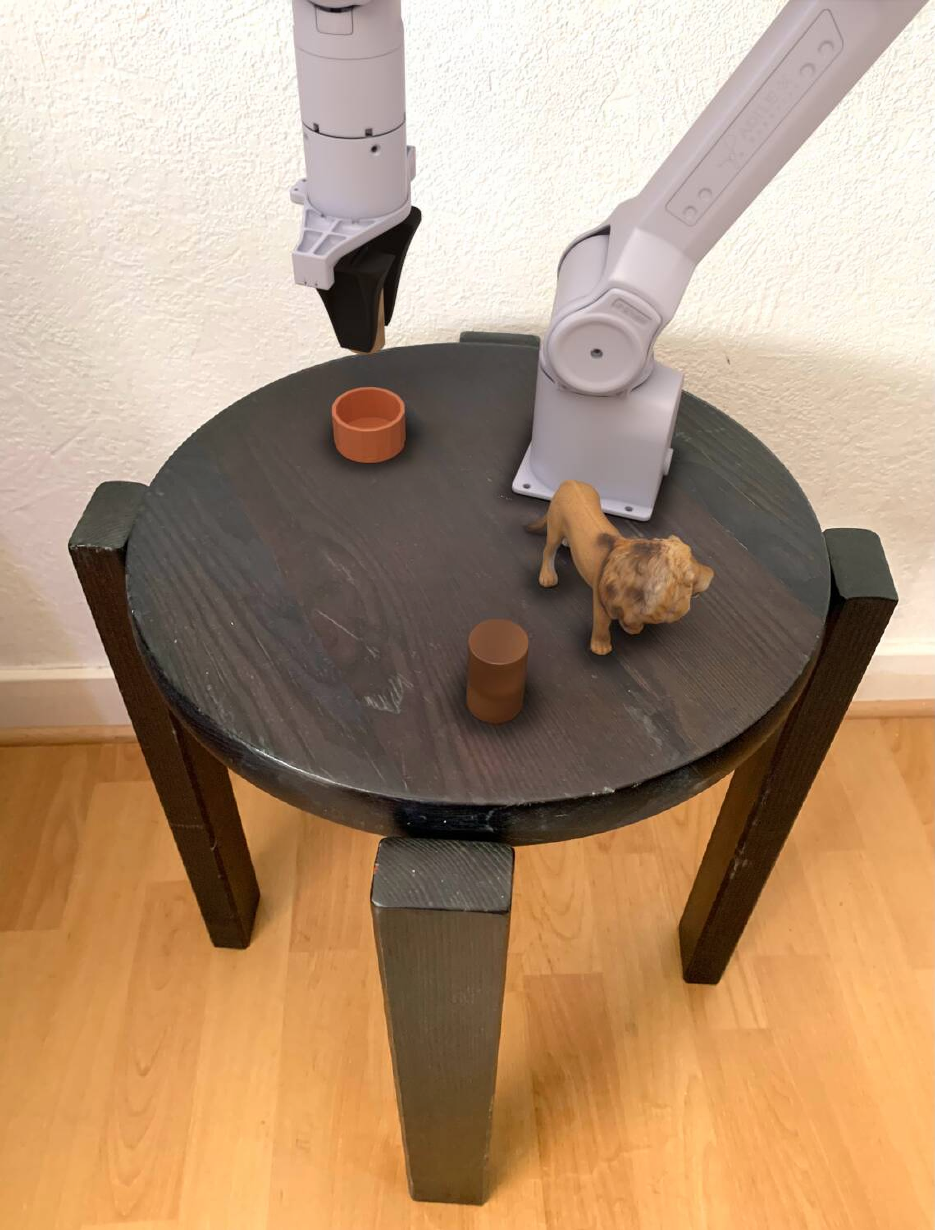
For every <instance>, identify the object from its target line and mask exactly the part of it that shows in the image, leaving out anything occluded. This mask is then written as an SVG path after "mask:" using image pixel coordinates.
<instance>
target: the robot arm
mask: <svg viewBox="0 0 935 1230" xmlns="http://www.w3.org/2000/svg"><path fill="white" fill-rule="evenodd" d="M929 2H930V0H788V1H787V3H786V4H784V6H783V7H782V8H781V10H780V11H779V13H777V15H776V16H775V18H774V19H773V20H772V22H771V23H770V24H769V25H768V27H767V28H766V29H765V31H764V32H762V34H761V36H760V37H759V38H758V39H757V41H756V42H755V44H754V45H753V46H752V47H751V49H750V50H749V51H748V53H747V54H746V55H745V57H743V59H742V60H741V61H740V63H739V64H738V65H737V67H736V68H735V69H734V70H733V72H732V73H731V75H730V76H729V77H728V78H727V80H726V81H725V82H724V83H723V85H722V86H721V87H720V89H719V90H718V91H717V93H716V94H715V95H714V96H713V98H712V99H711V100H710V101H709V103H707V105H706V106H705V108H704V109H703V110H702V111H701V113H700V115H698V116H697V118H696V120H694V122H693V123H692V125H691V126H690V127H689V129H688V130H687V131H686V132H685V133H684V134H683V136H682V138H681V139H680V140H679V141H678V143H677V144H676V145H675V146H674V148H673V149H672V150H671V152H670V153H669V154H668V156H667V157H666V158H665V160H664V161H663V162H662V163H661V164H660V166H659V167H658V168H657V170H656V171H655V172H654V174H653V175H652V176H651V178H650V179H649V180H648V181H647V182H646V184H645V185H644V186H643V188H642V189H641V190H640V192H639V193H638V194H637V195H636V196H634V197H631V198H628V199H626V200H624V201H621V202H619V203H618V204H617V205H616V207H615V208H614V209H613V211H612V212H611V213H610V215H608V217H607V218H606V219H605V220H604V221H602V222H601V223H600V224H598V225H597V226H595V227H593V228H591V229H589V230H587V231H584V232H582V233H580V234H579V235H578V236H576V237H575V238H574V239H572V240H571V241H570V242H569V243H568V244H567V246H566V247H565V248H564V250H563V252H562V253H561V256H560V258H559V261H558V264H557V272H556V273H557V274H556V279H557V280H556V289H555V294H554V300H553V304H552V310H551V313H550V320H549V324H548V326H547V328H546V331H545V334H544V335H543V340H542V341H541V343H540V346H539V352H538V362H537V375H536V376H537V377H536V387H535V397H534V398H535V399H534V409H533V410H534V411H533V421H532V432H531V433H532V434H531V441H530V443H529V445H528V447H527V450H526V452H525V454H524V456H523V459H522V461H521V464H520V466H519V468H518V470H517V473H516V475H515V477H514V479H513V481H512V484H511V485H512V486H511V489H512V491H513V492H514V493H516V494H519V495H524V496H528V497H532V498H537V499H542V500H546V501H550V502H551V500H552V497H553V495H554V494H555V492H556V491H557V490H558V488H559V486H560V485H561V483H562V482H563V481H565V480H569V479H572V480H575V481H577V482H585V483H587V484H589V485H590V486H592V487H593V488H594V489H595V490H596V491H597V492H598V494H599V497H600V503H601V508H602V511H603V513H604V514H609V515H614V516H617V517H621V518H622V517H623V518H626V519H630V520H631V519H632V520H634V521H635V520H636V521H641V522H647V521H649V520H650V519H651V517H652V514H653V512H654V507H655V505H656V504H655V503H656V500H657V497H658V493H659V490H660V487H661V484H662V480H663V476H668V474H669V471H670V466H671V464H672V463H671V462H672V458H673V454H674V449H673V448H671V445H672V439H673V435H674V431H675V426H676V420H677V416H678V412H679V408H680V403H681V398H682V397H681V396H682V392H683V388H684V383H685V382H684V381H685V376H686V373H685V372H683V371H681V370H678V369H676V368H672V367H670V366H669V365H666V364H663V363H661V362H660V361H659V360H658V359H656V358H655V351H654V347H655V344H656V342H657V340H658V338H659V336H660V335H661V333H662V332H663V331H664V330H665V328H666V327H668V325H669V324H670V323H671V322H672V321H673V319H674V317H675V315H676V313H677V311H678V309H679V306H680V304H681V302H682V300H683V297H684V296H685V293H686V291H687V288H688V286H689V283H690V281H691V279H692V277H693V275H694V273H695V270H696V268H697V267H698V265H699V264H701V262H702V261H703V259H704V258H705V257H706V256H707V255H708V254H709V252H710V251H711V250H712V249H713V248H714V247H715V246H716V245H717V244H718V242H719V241H720V240H721V239H722V238H723V237H724V236H725V234H726V233H727V232H728V231H729V230H730V228H731V227H732V226H734V224H735V223H736V222H737V220H738V219H739V218H740V217H741V216H742V215H743V214H744V213H745V211H747V209H749V207H750V206H751V204H753V202H754V201H755V200H756V199H757V198H758V197H759V196H760V194H761V193H762V192H763V191H764V190H765V188H766V187H767V186H768V185H769V184H770V183H771V182H772V180H773V179H774V178H775V177H776V176H777V175H778V174H779V173H780V172H781V170H782V169H783V168H784V167H785V166H786V165H787V163H789V161H790V160H791V159H792V158H793V157H794V155H796V154H797V152H798V151H799V150H800V149H801V147H802V146H803V145H804V144H805V143H806V142H807V140H808V139H809V138H810V137H811V136H812V135H813V134H814V133H815V131H816V130H817V129H818V128H819V127H820V126H821V124H823V122H824V121H825V120H826V119H827V118H828V117H829V115H830V114H831V113H832V112H833V111H834V110H835V108H837V107H838V105H839V104H840V103H841V102H842V101H843V99H844V98H845V97H846V96H847V95H848V94H849V93H850V92H851V91H852V89H853V88H854V87H855V86H856V85H857V84H858V82H859V81H861V79H862V78H863V77H864V76H865V74H866V73H867V72H868V71H869V70H870V69H871V68H872V66H873V65H874V64H875V63H876V62H877V61H878V59H879V58H881V56H882V55H883V54H884V53H885V52H886V51H887V50H888V48H889V47H890V46H891V45H892V44H893V43H894V42H895V40H896V39H897V38H898V37H899V36H900V35H901V33H902V32H903V31H904V30H905V29H906V28H907V26H909V24H910V23H911V22H912V21H913V20H914V19H915V17H916V16H917V15H918V14H919V13H920V12H921V10H923V8H924V7H925V6H926V5H927V4H928V3H929ZM291 10H292V21H293V25H292V36H293V46H294V47H293V49H294V56H295V58H294V59H295V68H296V80H297V89H298V101H299V102H298V103H299V114H300V121H301V131H302V141H303V142H302V143H303V153H304V155H303V156H304V164H305V165H304V166H305V175H306V177H302V178H300V179H298V180H297V181H296V182H295V183H294V184H293V185H292V187H291V188H290V189H289V197H290V199H289V200H290V201H291V202H292V203H293V204H296V205H300V206H303V209H302V216H301V217H302V218H301V227H300V234H299V239H298V241H297V244H296V245H295V247H293V250H292V251H291V259H292V261H291V262H292V269H293V277H294V284H295V285H299V286H304V287H307V288H314V289H315V290H316V292H317V293H318V296H319V297H320V299H321V301H322V303H323V306H324V308H325V310H326V312H327V315H328V318H329V320H330V323H331V326H332V329H333V331H334V334H335V337H336V340H337V342H338V344H339V347H340V348H341V349H345V350H348V349H350V350H355V351H360V352H365V353H370V352H371V350H372V349H373V347H374V343H375V340H376V335H377V327H378V315H379V304H380V298H381V293H382V289H383V298H384V322H385V327H389V325H390V323H391V322H392V319H393V315H394V311H395V306H396V302H397V297H398V292H399V287H400V281H401V276H402V272H403V267H404V264H405V261H406V257H407V256H408V255H407V254H408V252H409V249H410V246H411V243H412V241H413V239H414V236H415V235H416V232H417V230H418V228H419V226H420V225H421V224H422V220H423V218H422V217H423V216H422V210H421V209H420V208H418V207H417V206H415V205H412V183H411V182H413V181H414V180H415V178H416V177H417V156H416V155H417V154H416V152H417V149H416V146H415V145H411V144H407V142H408V141H407V107H406V105H407V104H406V100H407V99H406V57H405V55H406V54H405V52H406V51H405V47H406V46H405V26H404V21H403V17H402V0H291ZM350 350H349V351H350Z"/></svg>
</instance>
